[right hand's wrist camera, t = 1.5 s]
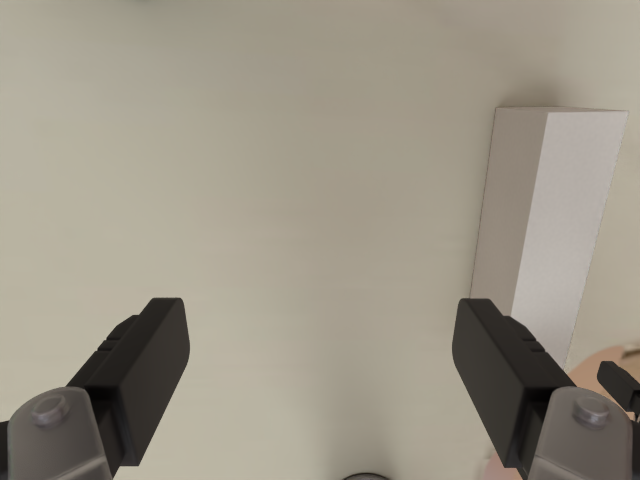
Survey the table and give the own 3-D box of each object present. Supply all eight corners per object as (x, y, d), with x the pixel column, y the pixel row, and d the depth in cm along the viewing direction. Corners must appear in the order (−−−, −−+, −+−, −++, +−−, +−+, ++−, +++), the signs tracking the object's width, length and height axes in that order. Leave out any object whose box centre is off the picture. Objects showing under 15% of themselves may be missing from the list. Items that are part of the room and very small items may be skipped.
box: (495, 107, 37) (548, 112, 29) (558, 106, 37) (629, 110, 29) (465, 329, 46) (498, 384, 38) (515, 329, 46) (560, 384, 38)
